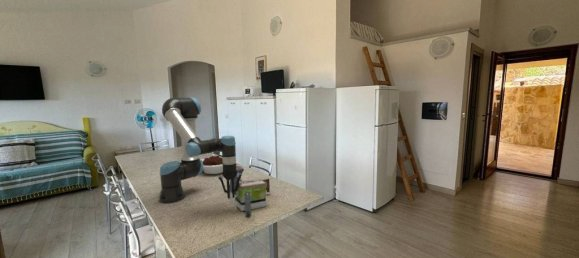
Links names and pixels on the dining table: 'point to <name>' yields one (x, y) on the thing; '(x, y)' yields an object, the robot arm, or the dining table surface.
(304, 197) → the dining table surface
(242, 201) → the tea box
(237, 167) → the moka pot
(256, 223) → the dining table surface
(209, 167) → the bowl of brown food
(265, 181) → the gate
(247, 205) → the gate posts
